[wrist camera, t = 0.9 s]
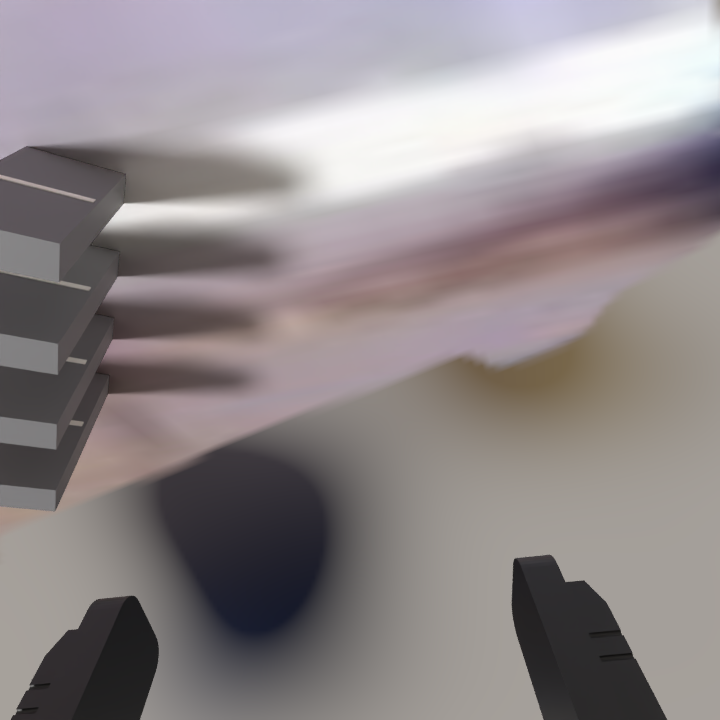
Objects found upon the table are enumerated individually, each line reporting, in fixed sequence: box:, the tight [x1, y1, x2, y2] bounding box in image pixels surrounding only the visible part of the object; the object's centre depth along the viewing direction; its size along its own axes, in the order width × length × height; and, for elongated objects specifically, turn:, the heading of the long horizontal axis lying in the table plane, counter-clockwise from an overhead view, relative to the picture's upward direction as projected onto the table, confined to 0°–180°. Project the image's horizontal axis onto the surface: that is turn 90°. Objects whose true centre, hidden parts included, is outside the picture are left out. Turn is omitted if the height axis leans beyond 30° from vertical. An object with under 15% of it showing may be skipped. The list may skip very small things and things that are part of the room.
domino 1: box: [0, 147, 126, 282], centre depth 25 cm, size 2×5×11 cm, turn 72°
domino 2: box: [0, 245, 119, 375], centre depth 27 cm, size 2×5×11 cm, turn 72°
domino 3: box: [0, 314, 114, 450], centre depth 30 cm, size 2×5×11 cm, turn 72°
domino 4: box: [0, 373, 109, 511], centre depth 32 cm, size 2×5×11 cm, turn 72°
